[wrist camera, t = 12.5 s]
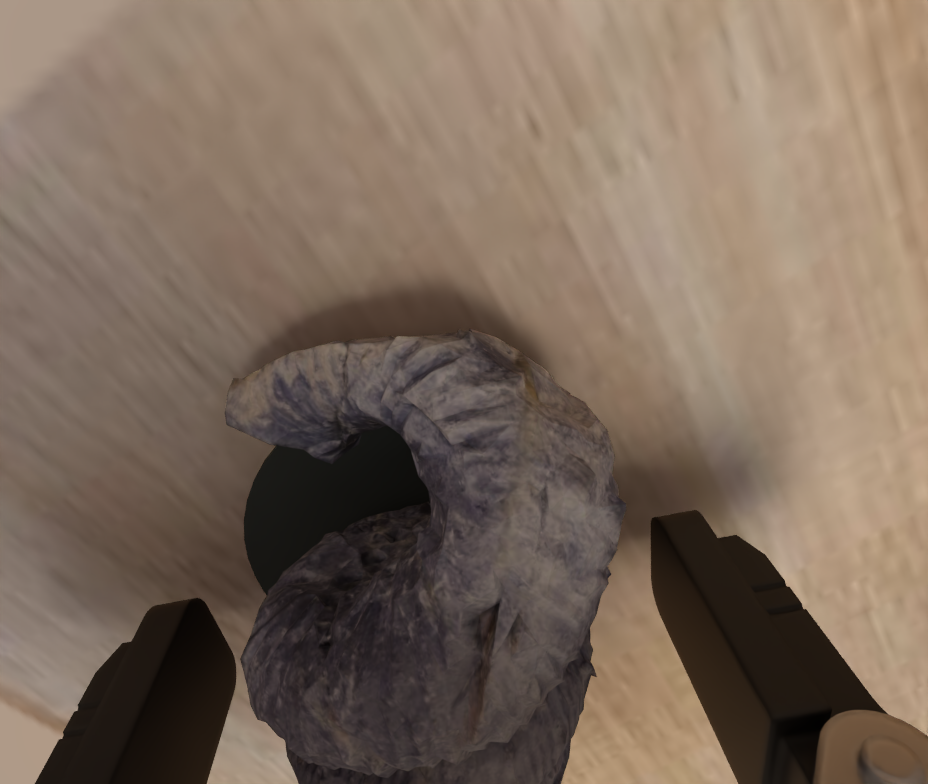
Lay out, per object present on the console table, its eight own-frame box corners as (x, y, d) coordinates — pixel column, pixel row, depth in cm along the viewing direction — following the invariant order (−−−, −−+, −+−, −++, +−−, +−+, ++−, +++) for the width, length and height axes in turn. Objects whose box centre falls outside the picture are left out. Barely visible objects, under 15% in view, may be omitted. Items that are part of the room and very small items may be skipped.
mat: (308, 683, 13) (307, 687, 13) (184, 421, 10) (183, 424, 10) (615, 628, 13) (616, 631, 13) (597, 344, 10) (599, 347, 9)
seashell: (350, 260, 10) (453, 639, 15) (7, 436, 6) (298, 859, 11) (674, 276, 7) (664, 741, 12) (385, 632, 3) (548, 1085, 8)
